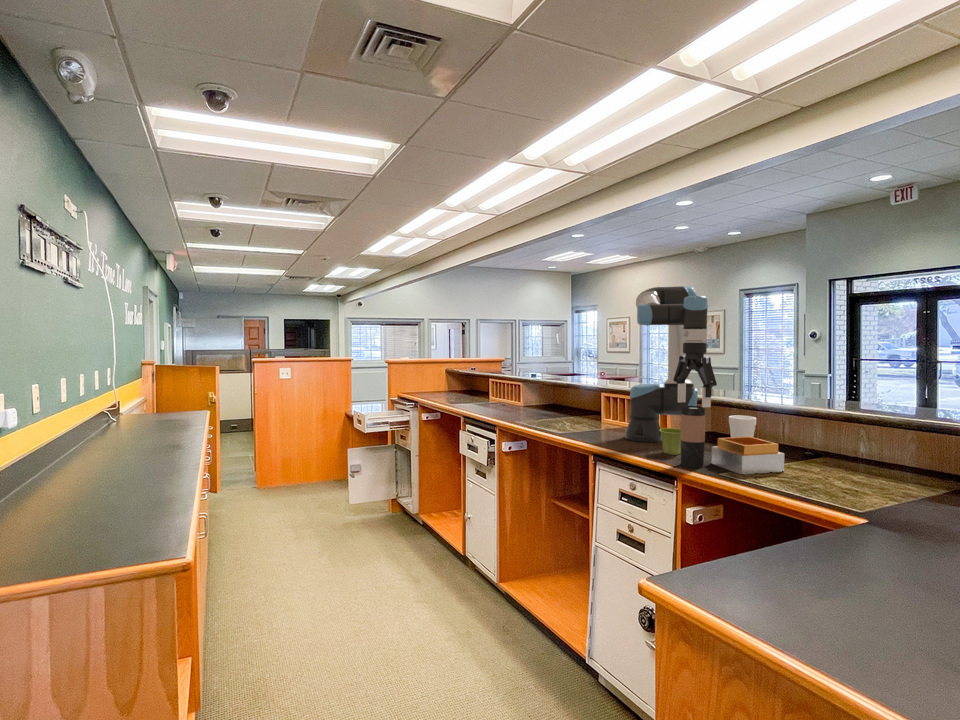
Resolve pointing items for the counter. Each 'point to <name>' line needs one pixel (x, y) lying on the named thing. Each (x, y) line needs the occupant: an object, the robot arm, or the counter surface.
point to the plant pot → (671, 440)
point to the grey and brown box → (747, 455)
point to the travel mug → (692, 436)
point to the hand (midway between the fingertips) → (693, 404)
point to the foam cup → (742, 426)
